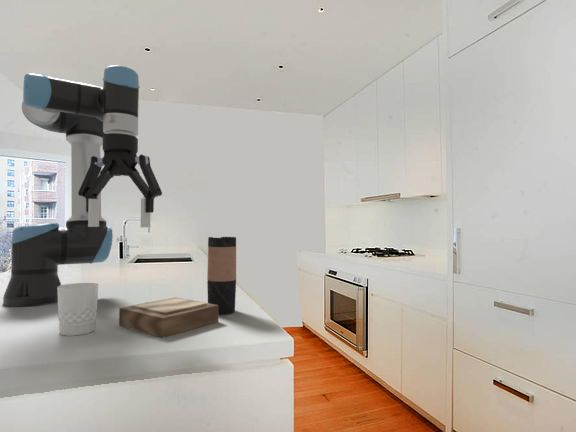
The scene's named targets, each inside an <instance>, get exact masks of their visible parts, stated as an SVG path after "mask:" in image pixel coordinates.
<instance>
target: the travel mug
mask: <svg viewBox="0 0 576 432" xmlns="http://www.w3.org/2000/svg"><path fill="white" fill-rule="evenodd" d="M206 281H207V283H206V285H207V288H206V289H207V303H210V304H215V305H219V316H223V315H231V314H234V313H235V312H236V296H237V295H236V293H237V237H236V236H221V237H213V236H208V237H207V280H206Z"/></svg>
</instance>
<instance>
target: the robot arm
mask: <svg viewBox="0 0 576 432" xmlns="http://www.w3.org/2000/svg"><path fill="white" fill-rule="evenodd" d="M139 80H140V79H139V74H138V73H137V71H136V70H134V69H132V68H130V67H127V66H122V65H109V66H106V67H105V68H104V72H103V78H102V81H103V86H99V85H98V86H97V85H94V84H89V83H88V84H87V83H83V82H77V81H71V80H69V79H68V80H67V79H62V78H58V77H52V76H48V75H46V74H36V73H32V72H31V73H30V72H29V73H28V72H27V73H25V75H24V76H23V88H22V90H23V94H22V98H23V100H22V104H21V111H22V114H23V116H24V117H25V118H26V119H27V121H28V122H30V123H32V124H33V125H34V126H37V127H39V128H41V129H43V130H46V131H48V132H49V131H50V132H53V133H59V134H65V141H67V142H68V143H69V144H70V145H71V147H70V148H71V151H70V153H71V159H70V161H71V169H70V170H71V171H70V173H71V176H70V177H71V184H70V185H71V193H70V194H71V216H70V217H69V218H68V220H66V221H65V227H64V226H60V224H59V222H49V223H48V222H46V223H38V224H29V225H27V224H26V225H21V226H17V227H15V228H14V229H13V231H12V236H11V237H12V238H11V242H10V245H11V266H10V267H11V268H10V269H11V270H10V273H11V275H10V279H9V282H8V285H7V286H6V289H5V291H4V293H3V297H2V300H3V301H2V305H4V306H6V307H7V306H8V307H30V306H41V305H42V306H43V305H49V304H54V303H58V294H57V287H58V286H60V285H62V283H61V280H60V277H59V274H58V272H59V271H58V269H59V265H60V266H61V265H76V264H77V265H80V264H81V265H83V264H96V263H103V262H105V261H106V260H107V259H108V257H109V256H110V254H111V249H112V247H113V235H114V234H113V229H112V227H110V226H107V220H106V219H105V218H103V216H102V192H103V191H102V190H103V189H104V188H105V187H106V186H107V184H108V183H109V182H110V181H111V179H112V178H114V177H121V176H124V177H129V178H130V179H131V181H132V183H134V184H135V186H136V188H137V189H138V190H139V191H140V192H141V193H140V194H142V195H143V197H142V198H140V228H151V218H152V217H151V215H152V214H151V213H153V212H154V207H155V205H154V204H155V199H156V198H157V197H160V196H162V195H163V192H162V189H161V187H160V185H159V182H158V180H157V178H156V175H155V172H153V169H152V167H151V157H149V156H147V155H144V154H140V155H139V156H137V153H138V152H139V151H138V150H139V149H138V148H139V139H138V138H137V136H138V135H139V99H140V97H139V93H140V91H139V90H140V85H139V84H140V83H139V82H140V81H139ZM101 147H102V148H101ZM101 149H102V150H103V151H102V152H103V153H104V154H103V156H102V157H101ZM137 164H138V165H139V167H140V169H141V170H140V171H141V173H142V174H143V176H141V174H140V172H139V171H138V169H137V168H136V166H138V165H137ZM103 166H104V167H103ZM143 177H144V179H143Z"/></svg>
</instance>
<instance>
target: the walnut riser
mask: <svg viewBox="0 0 576 432" xmlns="http://www.w3.org/2000/svg"><path fill="white" fill-rule="evenodd" d="M118 310H119V311H118V314H119V315H118V326H121V327H123V328H126V329H131V330H134V331H139V332H140V333H141V332H142V333H145V334H149V335H153V336H156V337H160V338H166V337H169V336H172V335H176V334H180V333H183V332H186V331H191V330H194V329H198V328H200V327H205V326H208V325H212V324H215V323H218V322H219V317H220V315H219V305H215V304H210V303H208V302H202V301H198V300H193V299H186V298H182V297H170V298H164V299H160V300H155V301H148V302H142V303H138V304H133V305H129V306H123V307H119V308H118Z"/></svg>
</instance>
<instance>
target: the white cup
mask: <svg viewBox="0 0 576 432" xmlns="http://www.w3.org/2000/svg"><path fill="white" fill-rule="evenodd" d="M57 294H58V302H57V314H58V316H57V317H58V322H59V323H58V325H59V326H58V328H59V329H58V332H59V334H60V335H61V336H67V337H70V336H73V337H74V336H80V335H87V334H90V333H92V332H94V331H95V329H96V318H97V312H98V311H97V310H98V309H97V308H98V300H99V299H98V295H99V284H98V283H96V282H95V283H94V282H74V283H67V284H66V283H65V284H61V285H60V286H58V287H57Z"/></svg>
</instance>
